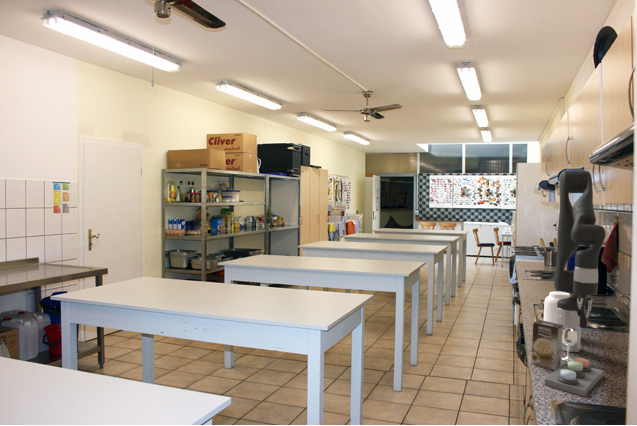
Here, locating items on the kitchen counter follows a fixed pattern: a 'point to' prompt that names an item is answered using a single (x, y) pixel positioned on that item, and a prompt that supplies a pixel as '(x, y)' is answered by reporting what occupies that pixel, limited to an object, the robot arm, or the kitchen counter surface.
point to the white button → (568, 374)
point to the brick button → (584, 361)
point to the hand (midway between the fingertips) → (583, 327)
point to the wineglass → (569, 340)
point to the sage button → (575, 365)
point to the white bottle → (553, 305)
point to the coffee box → (547, 344)
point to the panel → (578, 386)
